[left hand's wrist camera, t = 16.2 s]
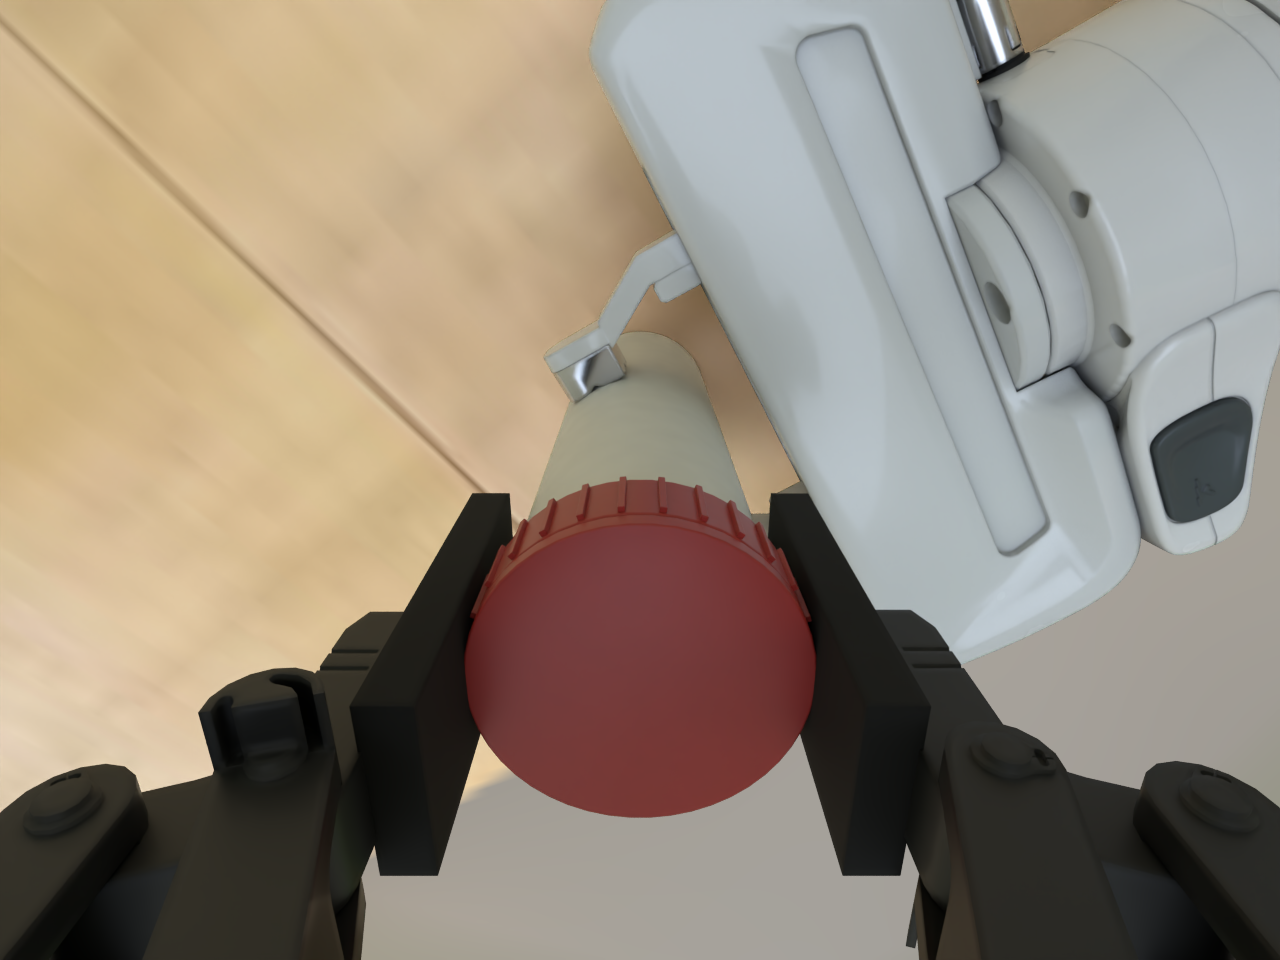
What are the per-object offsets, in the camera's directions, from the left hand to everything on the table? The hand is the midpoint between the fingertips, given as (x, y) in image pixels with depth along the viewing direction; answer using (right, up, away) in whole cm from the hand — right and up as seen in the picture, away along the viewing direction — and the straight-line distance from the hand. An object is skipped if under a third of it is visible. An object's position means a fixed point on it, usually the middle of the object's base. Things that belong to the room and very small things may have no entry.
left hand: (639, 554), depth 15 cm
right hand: (-1, +2, +6) cm, 6 cm away
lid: (0, -1, -4) cm, 4 cm away
